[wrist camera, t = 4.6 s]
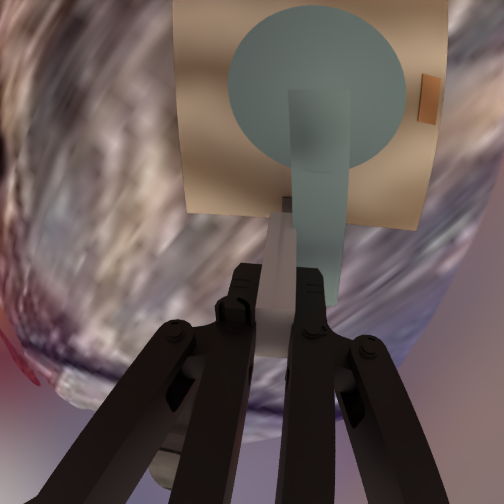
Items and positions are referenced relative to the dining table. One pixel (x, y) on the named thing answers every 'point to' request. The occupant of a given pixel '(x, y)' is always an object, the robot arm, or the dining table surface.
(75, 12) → the dining table surface
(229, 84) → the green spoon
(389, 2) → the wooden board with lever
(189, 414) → the beverage cup
